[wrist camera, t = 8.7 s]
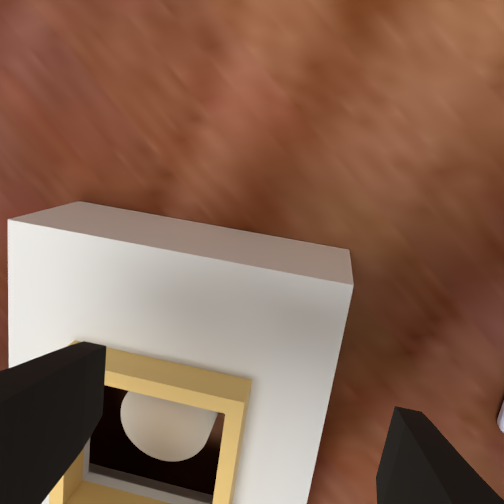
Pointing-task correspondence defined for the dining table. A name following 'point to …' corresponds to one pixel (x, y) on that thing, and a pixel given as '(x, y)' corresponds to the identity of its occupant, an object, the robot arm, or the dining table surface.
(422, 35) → the dining table surface
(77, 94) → the dining table surface
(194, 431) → the cylinder
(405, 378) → the dining table surface
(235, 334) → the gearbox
